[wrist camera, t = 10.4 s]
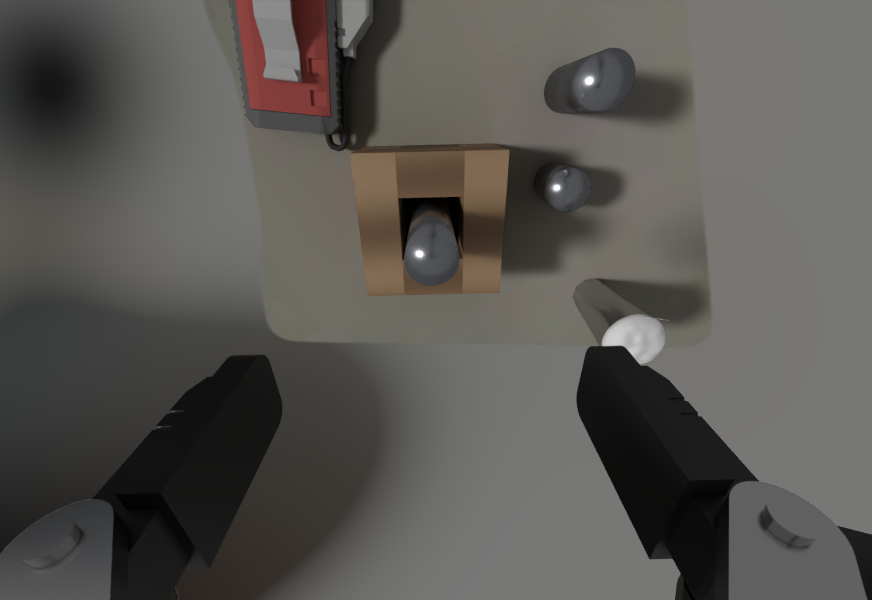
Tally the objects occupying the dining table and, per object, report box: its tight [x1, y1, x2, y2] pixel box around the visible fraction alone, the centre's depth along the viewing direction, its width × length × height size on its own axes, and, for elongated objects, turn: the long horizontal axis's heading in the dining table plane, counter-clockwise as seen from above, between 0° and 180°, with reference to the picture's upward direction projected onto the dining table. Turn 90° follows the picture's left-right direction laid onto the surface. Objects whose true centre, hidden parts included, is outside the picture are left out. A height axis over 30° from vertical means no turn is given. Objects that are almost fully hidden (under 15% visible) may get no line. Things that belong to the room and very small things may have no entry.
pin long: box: [404, 197, 459, 286], centre depth 24 cm, size 3×3×12 cm
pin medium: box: [544, 48, 635, 113], centre depth 22 cm, size 3×3×7 cm
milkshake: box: [573, 279, 670, 364], centre depth 29 cm, size 5×5×10 cm
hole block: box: [350, 144, 509, 296], centre depth 27 cm, size 10×10×6 cm
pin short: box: [534, 162, 591, 212], centre depth 27 cm, size 3×3×4 cm
